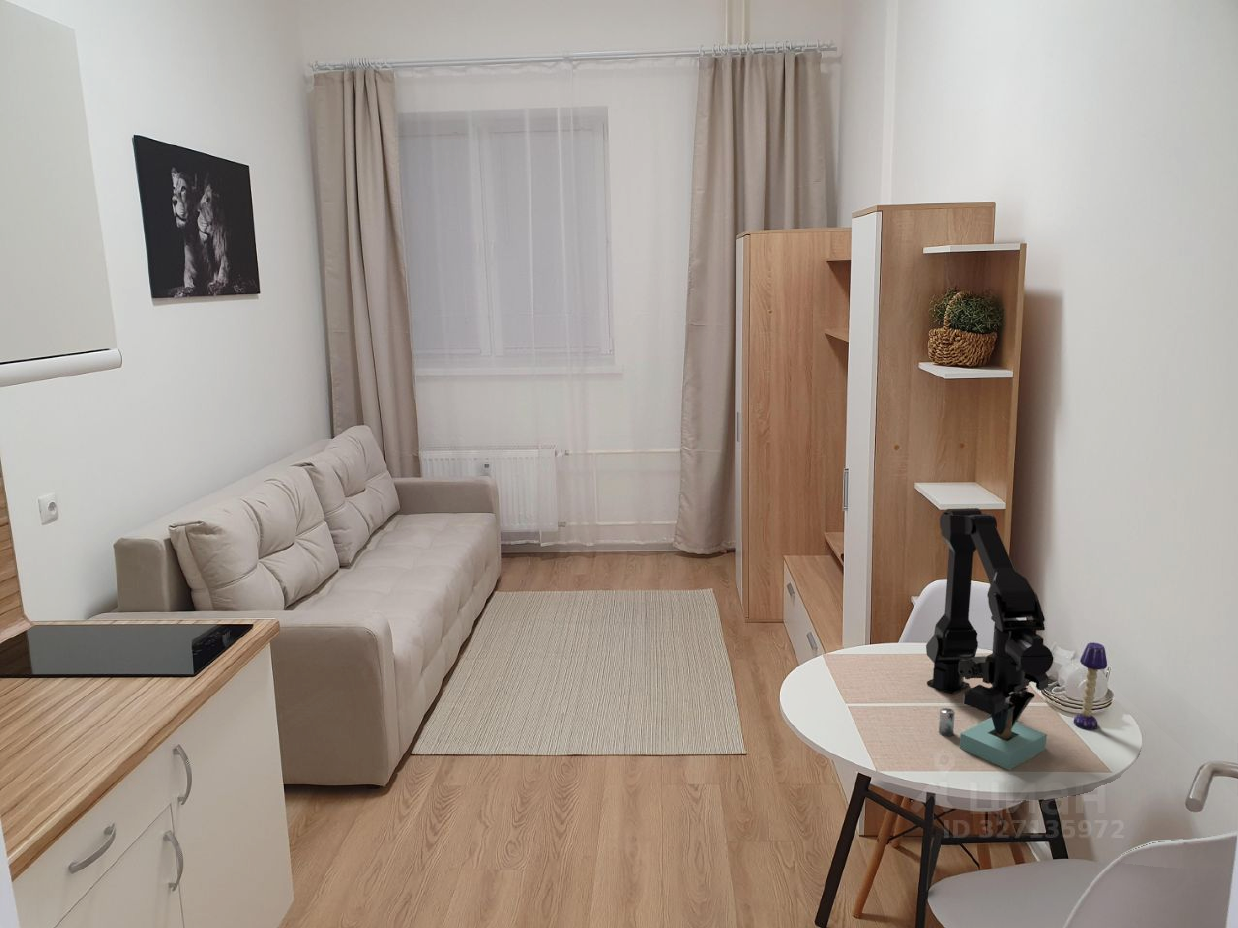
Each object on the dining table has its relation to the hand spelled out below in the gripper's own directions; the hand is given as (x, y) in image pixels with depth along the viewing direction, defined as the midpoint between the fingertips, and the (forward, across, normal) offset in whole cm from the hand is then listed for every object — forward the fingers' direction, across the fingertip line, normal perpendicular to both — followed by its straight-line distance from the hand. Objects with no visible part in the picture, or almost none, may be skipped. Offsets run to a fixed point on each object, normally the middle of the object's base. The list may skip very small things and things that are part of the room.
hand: (1003, 730), depth 174 cm
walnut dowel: (+2, 0, 0) cm, 2 cm away
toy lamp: (+4, -21, +5) cm, 22 cm away
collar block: (+4, 0, 0) cm, 4 cm away
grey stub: (+4, +3, -10) cm, 11 cm away
